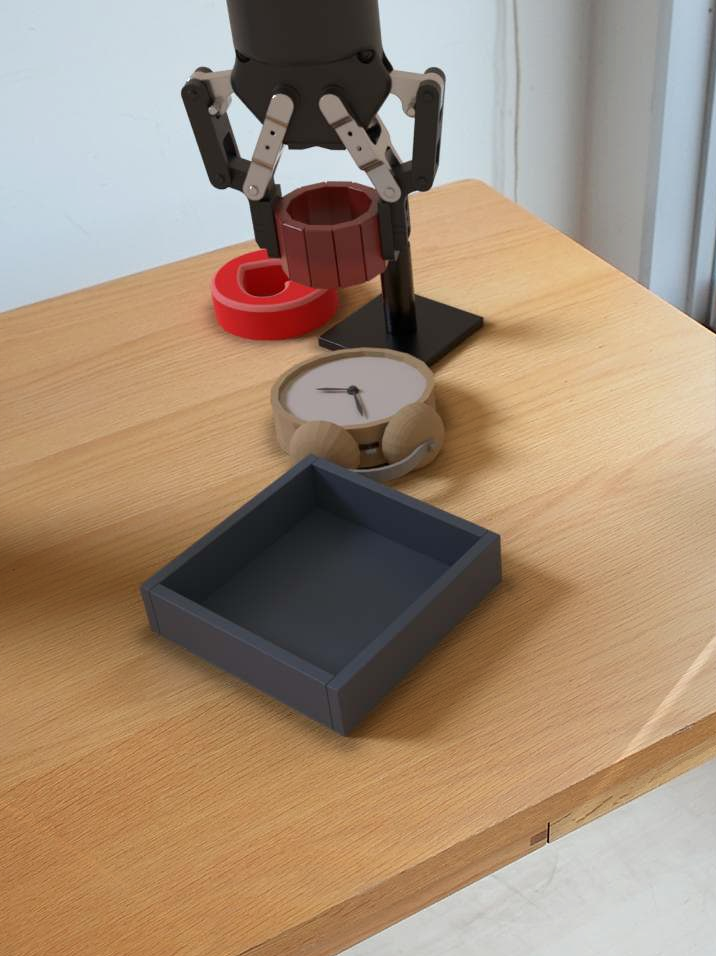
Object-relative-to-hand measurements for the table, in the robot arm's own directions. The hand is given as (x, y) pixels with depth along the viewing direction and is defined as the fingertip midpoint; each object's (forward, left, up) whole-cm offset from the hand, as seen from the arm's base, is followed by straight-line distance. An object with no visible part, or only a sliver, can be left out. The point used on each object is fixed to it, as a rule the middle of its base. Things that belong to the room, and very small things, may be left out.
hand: (334, 252), depth 75 cm
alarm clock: (-4, +4, -18) cm, 19 cm away
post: (-10, +16, -18) cm, 26 cm away
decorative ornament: (-21, +14, -18) cm, 31 cm away
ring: (0, 0, -1) cm, 1 cm away
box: (+5, -10, -18) cm, 21 cm away
